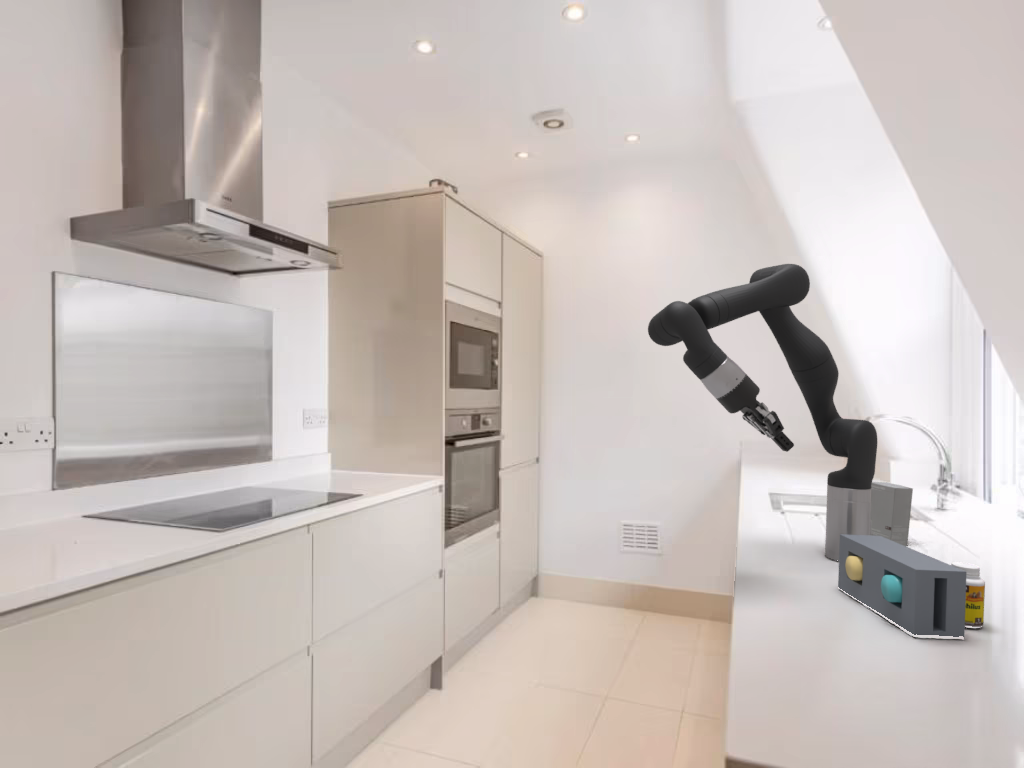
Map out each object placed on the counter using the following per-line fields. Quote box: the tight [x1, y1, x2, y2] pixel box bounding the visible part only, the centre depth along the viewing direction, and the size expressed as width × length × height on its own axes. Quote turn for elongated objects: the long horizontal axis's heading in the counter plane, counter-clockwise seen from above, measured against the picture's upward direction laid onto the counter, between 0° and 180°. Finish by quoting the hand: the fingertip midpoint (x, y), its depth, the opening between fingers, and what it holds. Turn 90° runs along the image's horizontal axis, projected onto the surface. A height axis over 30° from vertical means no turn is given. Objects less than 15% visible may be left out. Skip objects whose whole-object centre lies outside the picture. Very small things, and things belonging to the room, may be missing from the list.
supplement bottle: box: [950, 561, 986, 627], centre depth 106 cm, size 6×6×10 cm
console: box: [837, 534, 966, 638], centre depth 111 cm, size 8×24×11 cm, turn 179°
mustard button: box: [845, 556, 863, 580], centre depth 117 cm, size 3×4×4 cm
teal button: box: [881, 575, 903, 603], centre depth 105 cm, size 3×4×4 cm
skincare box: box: [870, 481, 914, 547], centre depth 165 cm, size 8×7×16 cm
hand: (789, 448), depth 123 cm, fingers closed
